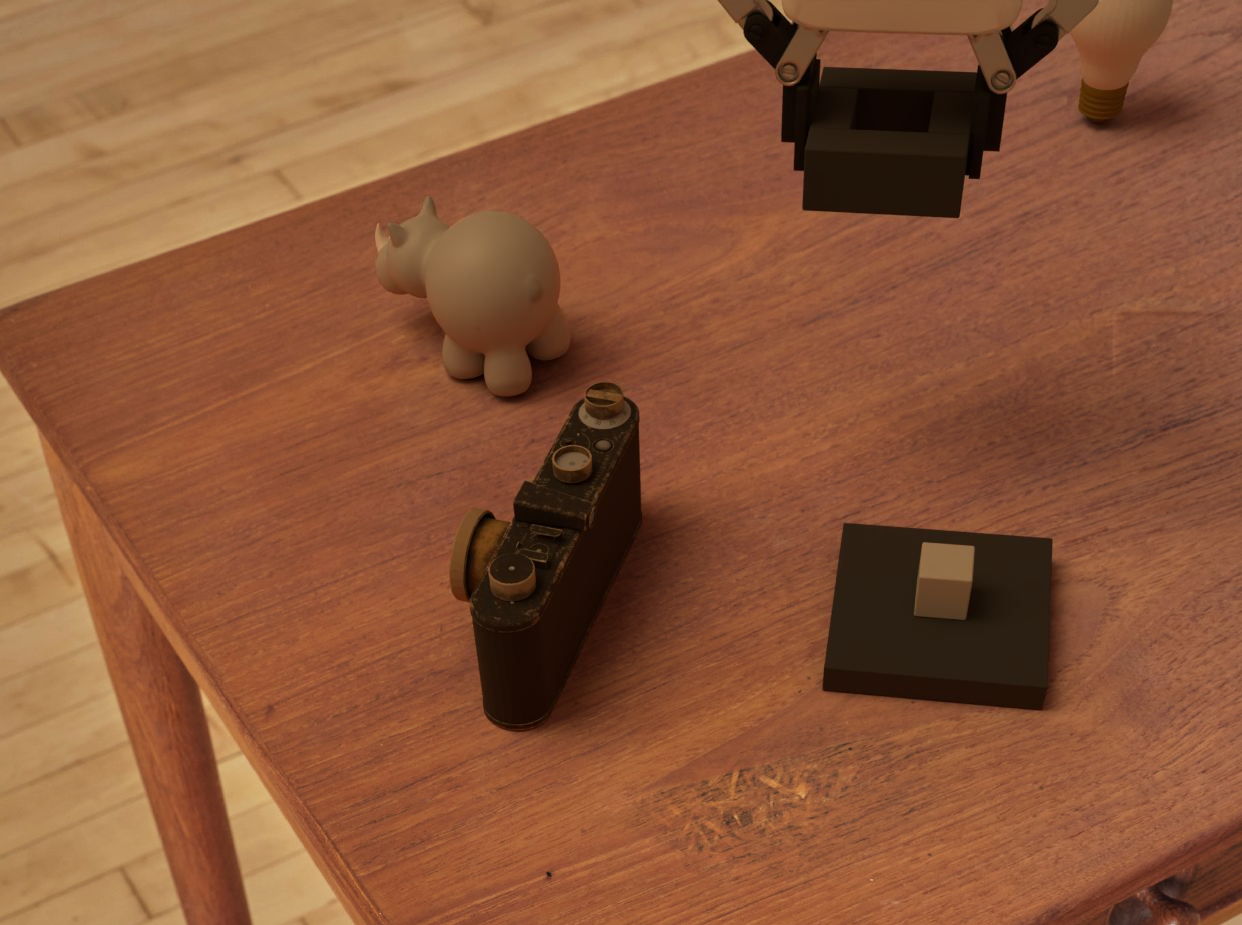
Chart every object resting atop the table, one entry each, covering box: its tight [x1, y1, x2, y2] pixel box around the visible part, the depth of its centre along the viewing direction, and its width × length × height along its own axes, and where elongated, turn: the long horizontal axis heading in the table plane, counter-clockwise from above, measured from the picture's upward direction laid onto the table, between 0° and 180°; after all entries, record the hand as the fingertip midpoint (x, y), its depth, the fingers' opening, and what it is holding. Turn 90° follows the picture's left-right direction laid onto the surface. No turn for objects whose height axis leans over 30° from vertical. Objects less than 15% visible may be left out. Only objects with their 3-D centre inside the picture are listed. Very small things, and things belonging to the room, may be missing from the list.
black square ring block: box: [801, 66, 977, 219], centre depth 82 cm, size 7×7×3 cm
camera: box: [448, 381, 643, 731], centre depth 85 cm, size 16×7×8 cm, turn 160°
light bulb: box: [1069, 0, 1174, 124], centre depth 107 cm, size 6×6×10 cm
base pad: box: [821, 522, 1054, 711], centre depth 85 cm, size 10×10×4 cm
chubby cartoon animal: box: [373, 194, 571, 397], centre depth 98 cm, size 7×12×8 cm, turn 50°
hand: (889, 156), depth 82 cm, fingers closed on black square ring block, 7 cm apart
